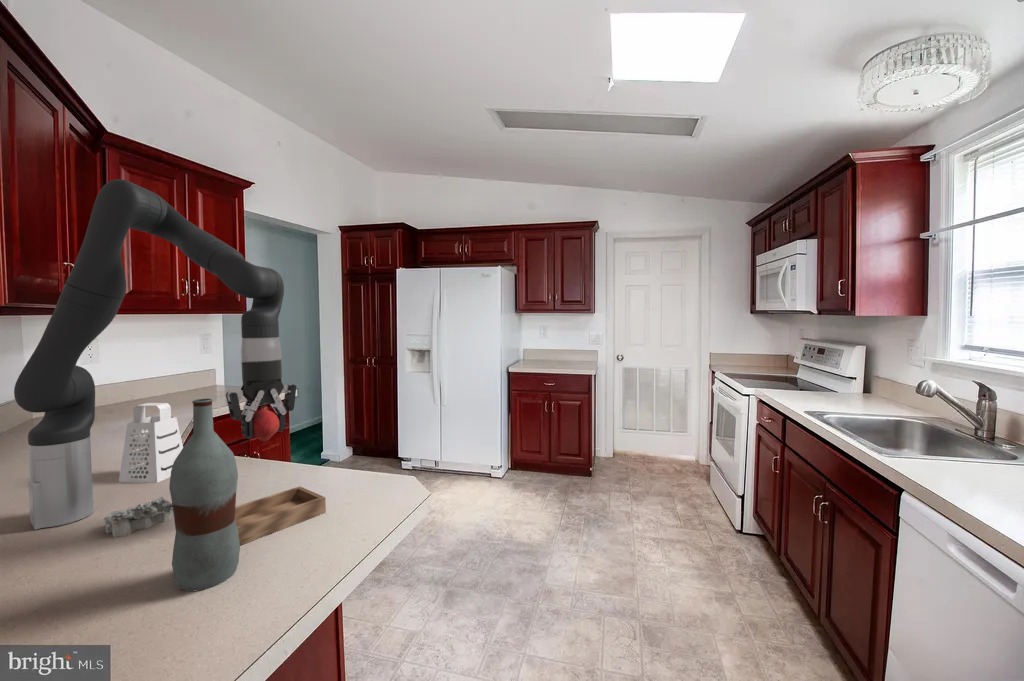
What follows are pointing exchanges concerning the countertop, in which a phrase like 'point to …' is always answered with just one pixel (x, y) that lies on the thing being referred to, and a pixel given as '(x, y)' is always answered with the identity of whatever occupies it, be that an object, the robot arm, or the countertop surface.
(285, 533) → the countertop surface
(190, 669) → the countertop surface
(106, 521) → the egg carton
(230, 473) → the bottle
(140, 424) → the grater
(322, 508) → the wooden tray
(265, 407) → the onion
